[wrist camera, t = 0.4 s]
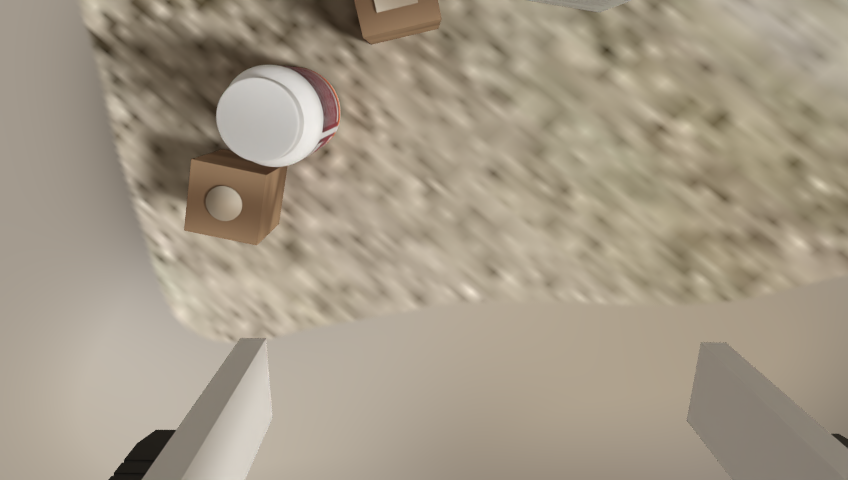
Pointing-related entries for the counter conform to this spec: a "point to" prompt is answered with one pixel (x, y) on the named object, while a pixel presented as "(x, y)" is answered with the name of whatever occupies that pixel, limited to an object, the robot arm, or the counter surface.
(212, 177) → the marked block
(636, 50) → the counter surface
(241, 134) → the pill bottle
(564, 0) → the small box
